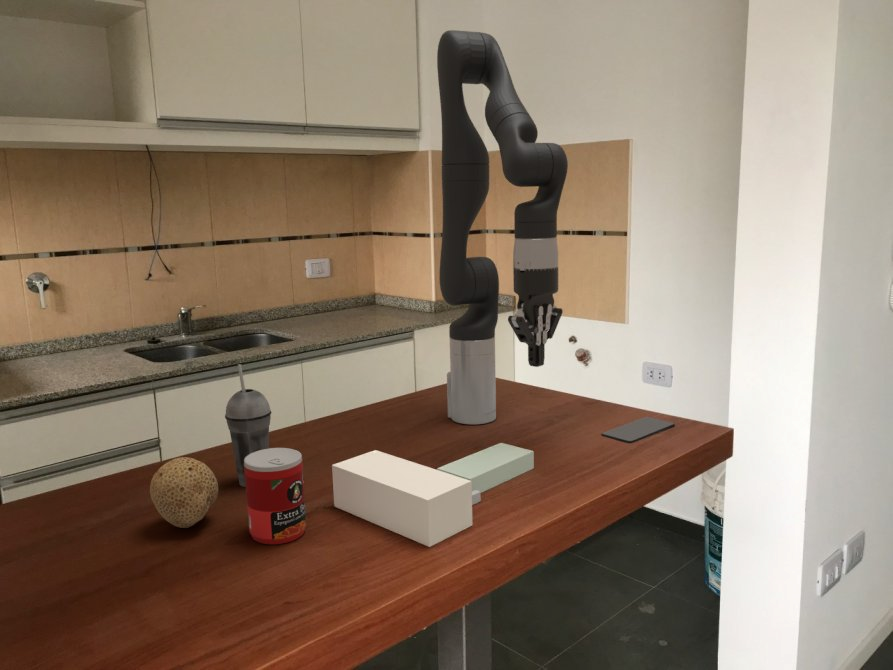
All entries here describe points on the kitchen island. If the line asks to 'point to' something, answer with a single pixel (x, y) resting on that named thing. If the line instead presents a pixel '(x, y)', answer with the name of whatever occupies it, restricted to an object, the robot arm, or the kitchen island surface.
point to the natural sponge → (183, 491)
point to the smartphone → (638, 429)
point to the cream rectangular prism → (404, 496)
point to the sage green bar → (491, 466)
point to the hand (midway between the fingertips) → (536, 365)
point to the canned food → (275, 495)
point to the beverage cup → (247, 424)
